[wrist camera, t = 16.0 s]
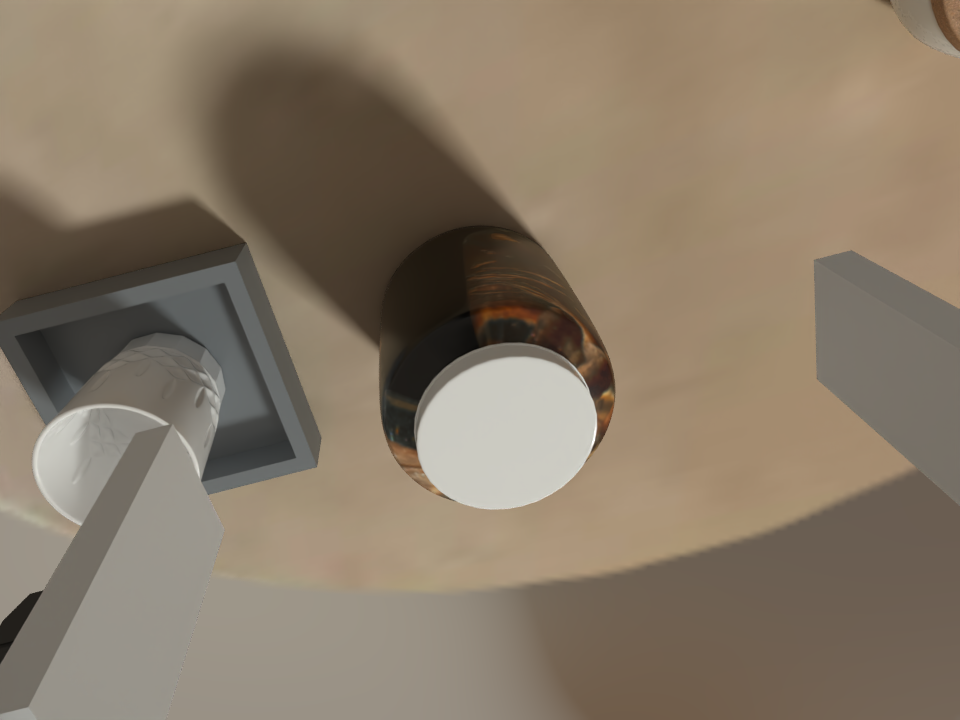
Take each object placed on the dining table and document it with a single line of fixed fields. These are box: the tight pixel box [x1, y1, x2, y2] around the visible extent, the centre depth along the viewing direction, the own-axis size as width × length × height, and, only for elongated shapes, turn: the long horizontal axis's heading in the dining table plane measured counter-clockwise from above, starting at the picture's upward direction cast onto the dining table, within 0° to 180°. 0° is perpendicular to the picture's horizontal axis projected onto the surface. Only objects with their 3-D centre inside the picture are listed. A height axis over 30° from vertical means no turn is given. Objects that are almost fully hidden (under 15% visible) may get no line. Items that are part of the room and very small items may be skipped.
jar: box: [379, 226, 615, 509], centre depth 41 cm, size 12×12×15 cm
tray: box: [0, 243, 321, 495], centre depth 46 cm, size 14×14×4 cm
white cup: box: [32, 333, 226, 526], centre depth 42 cm, size 8×8×10 cm
